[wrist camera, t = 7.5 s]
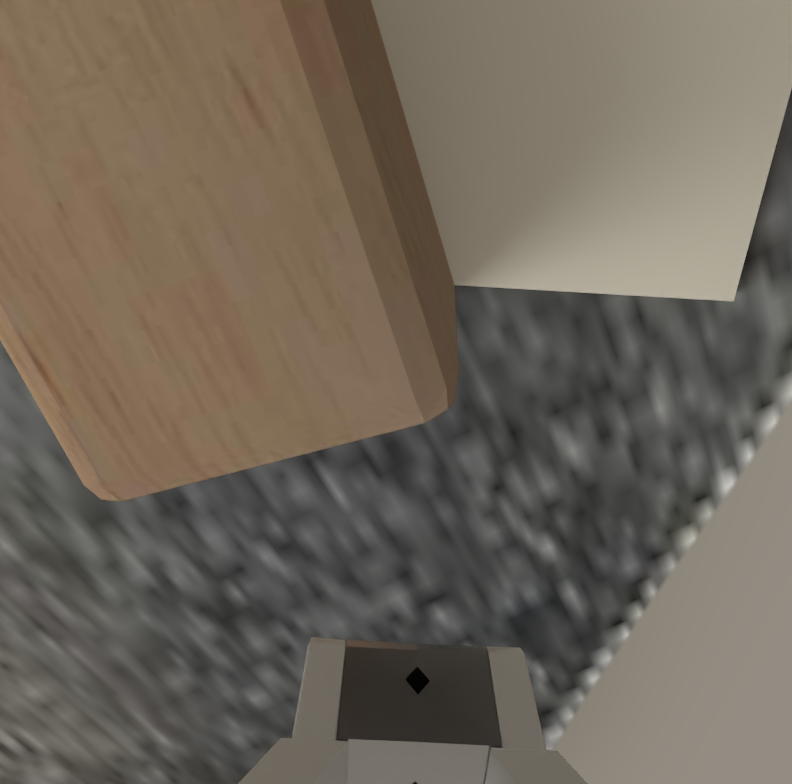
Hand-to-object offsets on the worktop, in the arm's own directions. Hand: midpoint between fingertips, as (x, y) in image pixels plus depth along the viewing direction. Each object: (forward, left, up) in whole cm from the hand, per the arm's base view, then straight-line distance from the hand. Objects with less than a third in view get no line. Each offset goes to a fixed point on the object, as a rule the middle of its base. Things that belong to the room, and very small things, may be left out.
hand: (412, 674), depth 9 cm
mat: (+8, -4, -17) cm, 19 cm away
